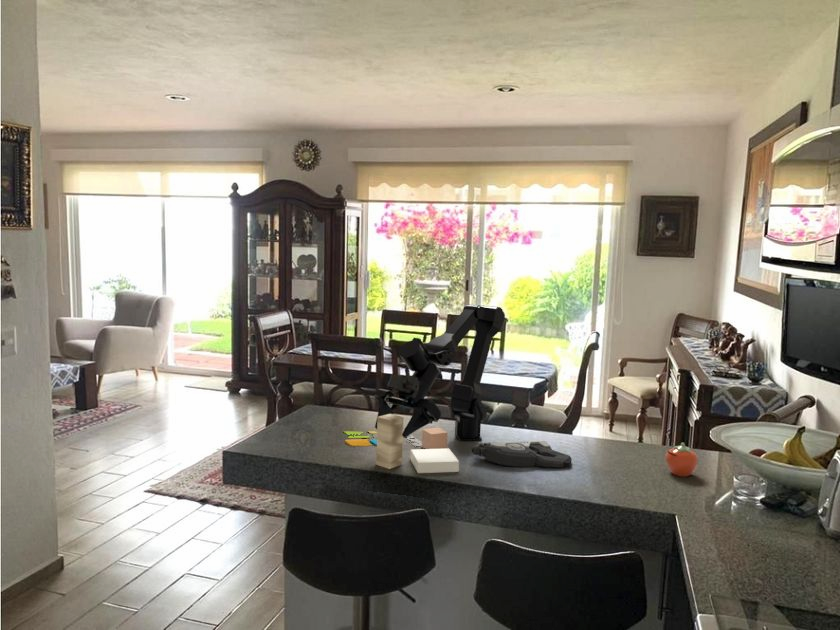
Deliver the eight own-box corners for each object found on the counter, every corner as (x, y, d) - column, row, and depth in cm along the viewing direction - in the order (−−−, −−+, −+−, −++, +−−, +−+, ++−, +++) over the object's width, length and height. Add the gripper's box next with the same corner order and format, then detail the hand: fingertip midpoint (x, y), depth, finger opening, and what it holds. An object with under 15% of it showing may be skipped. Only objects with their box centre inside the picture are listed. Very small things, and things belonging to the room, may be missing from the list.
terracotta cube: (438, 445, 166) (438, 427, 166) (446, 450, 162) (447, 432, 161) (421, 447, 164) (422, 429, 163) (430, 452, 159) (430, 434, 159)
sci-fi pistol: (580, 456, 152) (546, 435, 166) (495, 459, 142) (467, 437, 156) (577, 473, 153) (544, 450, 166) (493, 477, 143) (465, 453, 157)
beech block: (388, 460, 152) (390, 413, 151) (401, 464, 149) (403, 417, 148) (376, 464, 149) (377, 416, 148) (389, 469, 146) (390, 420, 145)
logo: (426, 444, 165) (357, 451, 156) (426, 447, 165) (357, 455, 156) (394, 422, 185) (331, 427, 177) (394, 425, 185) (331, 431, 177)
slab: (448, 459, 155) (449, 448, 155) (458, 473, 146) (459, 461, 145) (410, 461, 153) (410, 449, 153) (417, 474, 144) (418, 462, 143)
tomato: (658, 468, 153) (660, 438, 152) (685, 468, 154) (688, 437, 153) (674, 479, 145) (677, 447, 145) (703, 479, 146) (705, 447, 146)
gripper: (380, 357, 157) (347, 406, 149) (435, 368, 145) (402, 421, 137) (399, 383, 163) (368, 431, 156) (454, 395, 151) (423, 447, 144)
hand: (389, 432), depth 148 cm, fingers open, 9 cm apart
